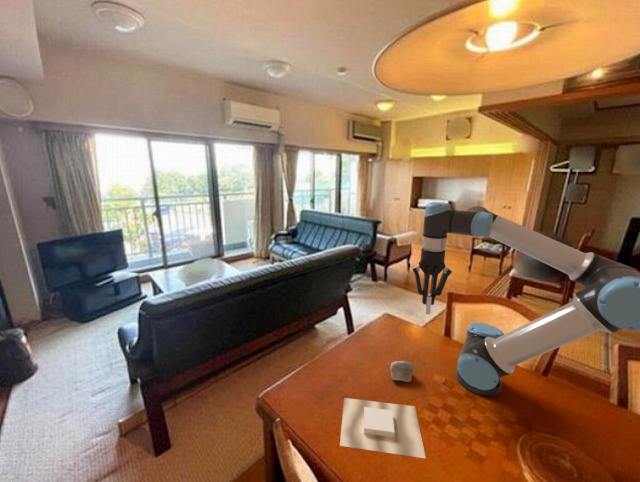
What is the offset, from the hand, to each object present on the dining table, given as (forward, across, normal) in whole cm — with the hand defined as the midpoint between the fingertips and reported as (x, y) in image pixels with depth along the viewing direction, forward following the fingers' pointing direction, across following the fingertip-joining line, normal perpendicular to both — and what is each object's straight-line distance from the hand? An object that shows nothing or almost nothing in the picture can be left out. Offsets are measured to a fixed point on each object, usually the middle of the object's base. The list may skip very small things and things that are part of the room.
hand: (426, 312), depth 100 cm
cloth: (+29, +16, +22) cm, 40 cm away
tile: (+28, +12, +22) cm, 37 cm away
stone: (+30, +8, -2) cm, 31 cm away
